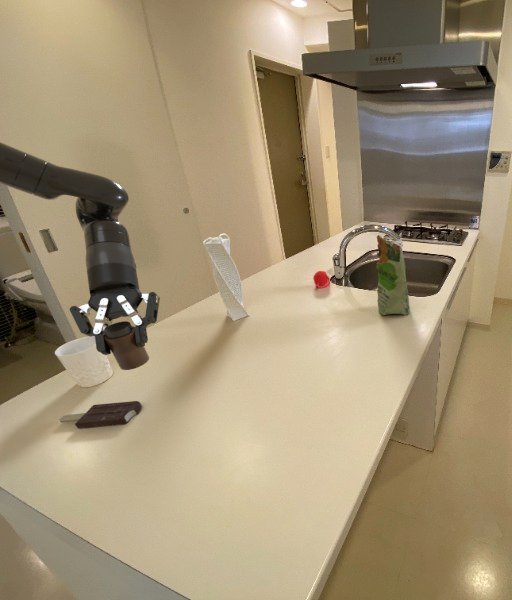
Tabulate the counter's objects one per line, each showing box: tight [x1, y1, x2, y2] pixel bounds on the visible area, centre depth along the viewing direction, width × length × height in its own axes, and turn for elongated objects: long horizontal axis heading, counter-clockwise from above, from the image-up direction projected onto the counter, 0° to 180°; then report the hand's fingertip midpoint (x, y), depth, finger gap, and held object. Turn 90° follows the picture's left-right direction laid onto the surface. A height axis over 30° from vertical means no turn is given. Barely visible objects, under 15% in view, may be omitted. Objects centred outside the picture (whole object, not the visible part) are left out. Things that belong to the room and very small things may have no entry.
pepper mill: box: [104, 320, 150, 371], centre depth 63 cm, size 5×5×8 cm
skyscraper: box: [202, 232, 250, 322], centre depth 101 cm, size 8×8×28 cm
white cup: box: [54, 336, 114, 388], centre depth 79 cm, size 8×8×10 cm
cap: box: [312, 270, 331, 290], centre depth 126 cm, size 8×6×6 cm
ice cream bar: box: [58, 400, 143, 430], centre depth 69 cm, size 5×2×15 cm
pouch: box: [376, 234, 411, 316], centre depth 103 cm, size 11×12×25 cm
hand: (124, 349), depth 62 cm, fingers closed on pepper mill, 5 cm apart
